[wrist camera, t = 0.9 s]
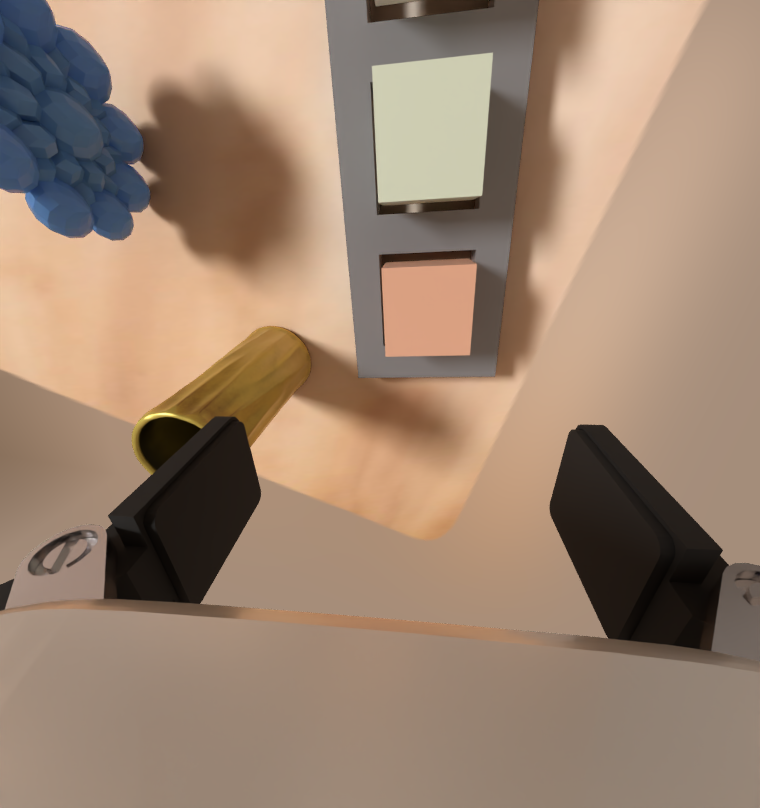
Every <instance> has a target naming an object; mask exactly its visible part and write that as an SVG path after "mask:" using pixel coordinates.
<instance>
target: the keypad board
mask: <svg viewBox="0 0 760 808" xmlns="http://www.w3.org/2000/svg"><path fill="white" fill-rule="evenodd" d="M538 4H539V0H489V5H488V8H484V9H476V10H468V11H460V12H452V13H444V14H436V15H428V16H420V17H412V18H404V19H396V20H388V21H380V22H372V23H371V16H370V0H325V8H326V19H327V31H328V42H329V53H330V64H331V75H332V87H333V98H334V109H335V120H336V131H337V143H338V154H339V165H340V176H341V187H342V198H343V210H344V221H345V232H346V243H347V254H348V266H349V277H350V288H351V299H352V310H353V322H354V333H355V344H356V355H357V366H358V378H400V377H495V373H496V364H497V355H498V347H499V338H500V330H501V321H502V313H503V304H504V295H505V287H506V278H507V270H508V261H509V253H510V244H511V235H512V227H513V218H514V210H515V201H516V192H517V184H518V175H519V167H520V158H521V150H522V141H523V132H524V124H525V115H526V107H527V98H528V90H529V81H530V72H531V64H532V55H533V47H534V38H535V30H536V21H537V12H538ZM485 53H493V60H492V73H491V86H490V99H489V112H488V125H487V139H486V152H485V165H484V178H483V191H482V196H480V197H478V198H476V199H475V209H466V210H450V211H434V212H418V213H402V214H386V215H380V211H379V203H378V185H377V164H376V143H375V122H374V100H373V79H372V66H376V65H385V64H394V63H403V62H412V61H421V60H430V59H439V58H449V57H458V56H467V55H476V54H485ZM461 250H472V253H471V260H472V261H473V262H475V263H476V264H477V270H476V283H475V296H474V309H473V322H472V335H471V348H470V355H457V356H399V357H386V356H385V334H384V313H383V292H382V270H381V268H382V254H401V253H421V252H441V251H461Z"/></svg>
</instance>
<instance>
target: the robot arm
mask: <svg viewBox="0 0 760 808" xmlns="http://www.w3.org/2000/svg"><path fill="white" fill-rule="evenodd" d="M260 497H261V489H260V486H259V482H258V477H257V473H256V469H255V465H254V461H253V458H252V454H251V450H250V446H249V442H248V438H247V434H246V430H245V426H244V424H243V422H239V420H238V419H237V418H236V417H228V416H215V417H214V418H212V419H211V420H210V421H209V422H208V423H207V424H206V425H205V426H204V427H203V428H202V429H201V430H200V431H198V432H197V433H196V434H195V435H194V436H193V437H192V438H191V439H190V440H189V441H188V442H187V443H186V444H184V445H183V446H182V447H181V448H180V449H179V450H178V451H177V452H176V453H175V454H174V455H173V456H172V457H170V458H169V459H168V460H167V461H166V462H165V463H164V464H163V465H162V466H161V467H160V468H159V469H158V470H156V471H155V472H154V473H153V474H152V475H151V476H150V477H149V478H148V479H147V480H146V481H145V482H144V483H143V484H142V485H140V486H139V487H138V488H137V489H136V490H135V491H134V492H133V493H132V494H131V495H130V496H128V497H127V498H126V499H125V500H124V501H123V502H122V503H121V504H120V505H119V506H118V507H117V508H116V509H115V510H113V511H112V512H111V513H110V514H109V515H108V516H109V518H110V520H111V522H112V525H111V526H109V527H108V529H105V528H103V527H102V526H100V525H94V524H89V525H81V526H77V527H74V528H70V529H67V530H65V531H63V532H61V533H59V534H56V535H54V536H52V537H51V538H49V539H47V540H46V541H44V542H42V543H41V544H40V545H38V546H37V547H36V548H35V549H33V550H32V551H31V552H30V553H29V554H28V555H27V556H26V557H25V558H24V559H23V560H22V562H21V564H20V566H19V567H18V569H17V572H16V575H15V579H13V580H10V581H8V582H6V583H3V584H1V585H0V808H760V566H759V565H754V564H749V563H735V564H732V565H730V566H729V565H728V564H727V563H726V562H725V561H724V559H723V558H722V557H721V556H720V554H721V553H722V551H723V550H722V549H721V548H720V547H719V545H718V544H717V543H716V542H715V541H714V540H713V539H712V538H711V537H710V536H709V535H708V534H707V533H706V532H705V531H704V530H703V529H702V528H701V527H700V525H699V524H698V523H697V522H696V521H695V520H694V519H693V518H692V517H691V516H690V515H689V514H688V513H687V512H686V511H685V510H684V509H683V508H682V507H681V505H680V504H679V503H678V502H677V501H676V500H675V499H674V498H673V497H672V496H671V495H670V494H669V493H668V492H667V491H666V490H665V489H664V488H663V486H662V485H661V484H660V483H659V482H658V481H657V480H656V479H655V478H654V477H653V476H652V475H651V474H650V473H649V472H648V471H647V470H646V469H645V468H644V466H643V465H642V464H641V463H640V462H639V461H638V460H637V459H636V458H635V457H634V456H633V455H632V454H631V453H630V452H629V451H628V450H627V449H626V448H625V446H624V445H622V443H621V442H620V441H619V440H618V439H617V438H616V437H615V436H614V435H613V434H612V433H611V432H610V431H609V430H608V428H607V427H605V426H604V425H578V426H577V428H576V430H571V431H570V432H569V435H568V438H567V442H566V446H565V449H564V453H563V457H562V460H561V465H560V468H559V472H558V475H557V479H556V483H555V487H554V490H553V494H552V498H551V501H550V514H551V517H552V519H553V522H554V524H555V526H556V528H557V530H558V532H559V534H560V537H561V539H562V541H563V543H564V545H565V547H566V549H567V552H568V554H569V556H570V558H571V560H572V562H573V565H574V567H575V569H576V571H577V573H578V575H579V578H580V579H581V582H582V584H583V586H584V588H585V590H586V593H587V595H588V597H589V599H590V601H591V603H592V605H593V608H594V610H595V612H596V614H597V616H598V618H599V621H600V623H601V625H602V627H603V629H604V631H605V633H606V635H607V637H608V638H609V639H607V638H598V637H588V636H579V635H568V634H556V633H545V632H534V631H522V630H510V629H500V628H488V627H477V626H466V625H454V624H443V623H442V624H441V623H430V622H419V621H406V620H395V619H383V618H371V617H359V616H346V615H334V614H321V613H310V612H297V611H284V610H271V609H259V608H245V607H232V606H219V605H206V604H200V603H201V601H202V600H203V598H204V596H205V595H206V593H207V591H208V589H209V588H210V586H211V584H212V583H213V581H214V579H215V577H216V576H217V574H218V572H219V570H220V569H221V567H222V565H223V564H224V562H225V560H226V558H227V556H228V555H229V553H230V551H231V550H232V548H233V546H234V544H235V543H236V541H237V539H238V538H239V536H240V534H241V532H242V530H243V529H244V527H245V526H246V524H247V522H248V520H249V519H250V517H251V515H252V513H253V512H254V510H255V508H256V506H257V505H258V503H259V501H260Z"/></svg>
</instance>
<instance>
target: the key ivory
mask: <svg viewBox="0 0 760 808" xmlns="http://www.w3.org/2000/svg"><path fill="white" fill-rule="evenodd" d="M413 1H421V0H375V5H376V6H382V5H390V4H398V3H405V2H413Z"/></svg>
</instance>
